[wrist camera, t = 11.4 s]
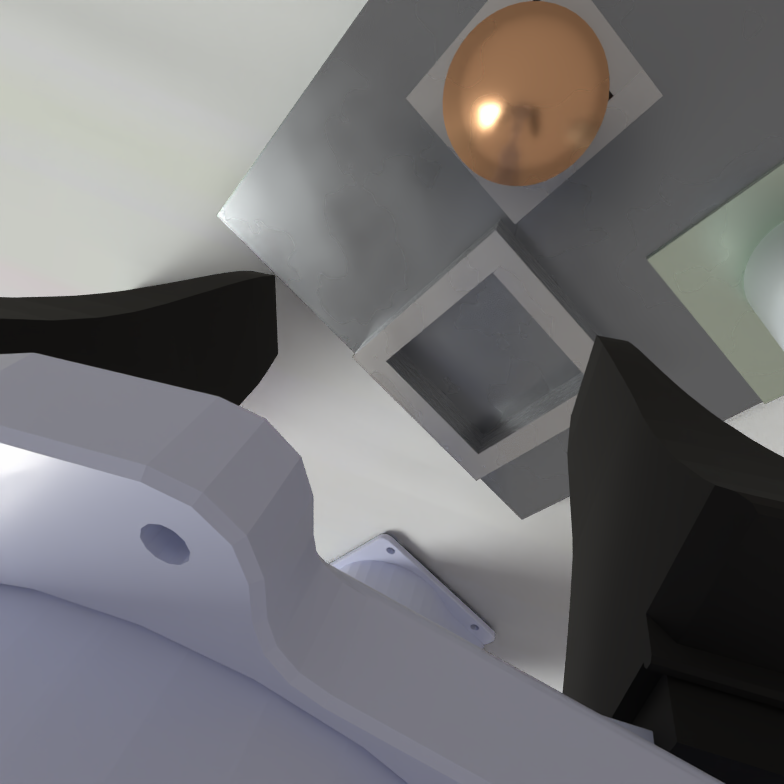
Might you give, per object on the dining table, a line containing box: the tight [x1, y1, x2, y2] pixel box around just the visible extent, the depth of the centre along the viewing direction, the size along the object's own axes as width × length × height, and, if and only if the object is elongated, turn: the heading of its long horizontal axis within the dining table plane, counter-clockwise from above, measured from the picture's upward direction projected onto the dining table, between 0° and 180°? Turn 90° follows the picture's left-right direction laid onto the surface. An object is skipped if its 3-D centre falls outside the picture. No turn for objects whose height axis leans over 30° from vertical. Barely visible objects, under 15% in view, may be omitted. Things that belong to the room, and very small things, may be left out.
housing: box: [217, 0, 784, 519], centre depth 18 cm, size 19×19×4 cm
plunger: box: [443, 1, 610, 186], centre depth 14 cm, size 4×4×4 cm
